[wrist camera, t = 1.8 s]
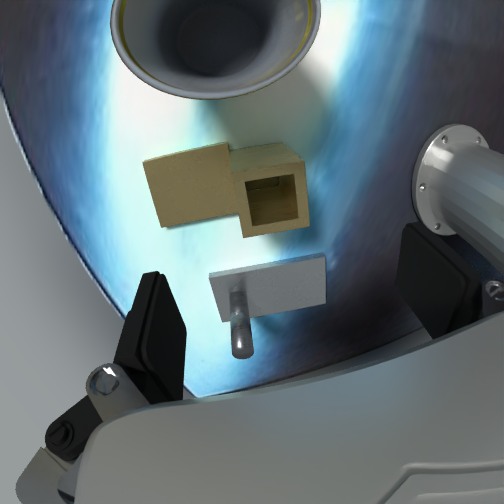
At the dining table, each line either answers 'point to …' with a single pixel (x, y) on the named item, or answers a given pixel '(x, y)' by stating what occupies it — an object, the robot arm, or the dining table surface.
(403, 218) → the dining table surface
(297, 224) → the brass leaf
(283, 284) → the steel leaf with pin
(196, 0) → the ceramic cup
